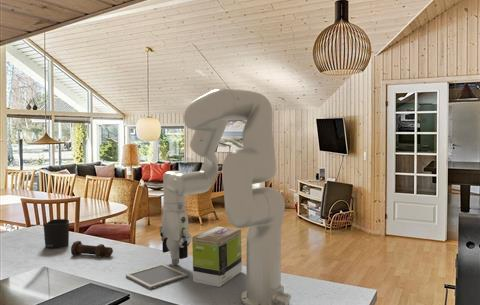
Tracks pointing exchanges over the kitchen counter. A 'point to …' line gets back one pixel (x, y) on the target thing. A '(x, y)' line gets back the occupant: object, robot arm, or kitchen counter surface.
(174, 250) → the lightbulb
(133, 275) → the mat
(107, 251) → the bolt
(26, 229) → the kitchen counter surface
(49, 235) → the pen holder
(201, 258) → the tea box
